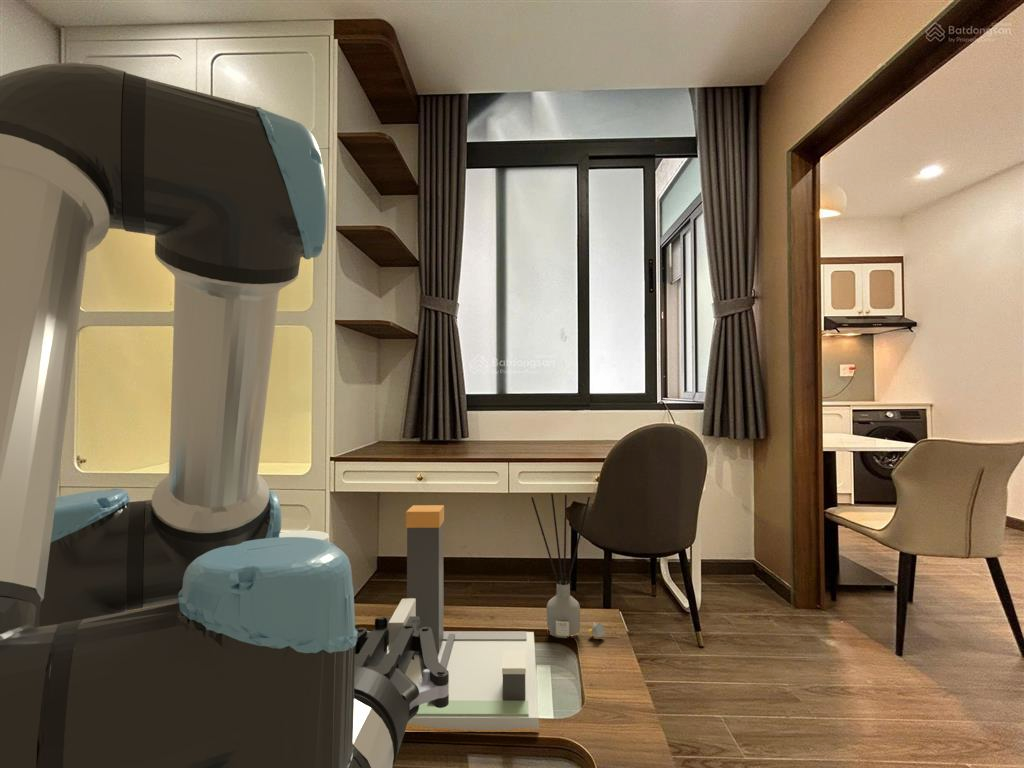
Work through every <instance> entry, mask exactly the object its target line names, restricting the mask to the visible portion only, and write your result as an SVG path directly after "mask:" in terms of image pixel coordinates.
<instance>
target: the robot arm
mask: <svg viewBox="0 0 1024 768" xmlns="http://www.w3.org/2000/svg"><path fill="white" fill-rule="evenodd" d="M325 176H326V175H325V169H324V163H323V159H322V154H321V151H320V147H319V146H318V143H317V141H316V139H315V137H314V135H313V133H312V132H311V131H310V129H308V128H307V127H306V126H305V125H303V124H302V123H300V122H299V121H297V120H294V119H290V118H288V117H285V116H283V115H280V114H277V113H274V112H272V111H268V110H266V109H263V108H261V106H254V105H251V104H247V103H242V102H240V101H235V100H231V99H227V98H224V97H220V96H214V95H211V94H208V93H203V92H200V91H196V90H193V89H188V88H184V87H180V86H176V85H172V84H168V83H166V82H163V81H162V82H161V81H159V80H158V81H157V80H154V79H150V78H147V77H143V76H139V75H136V74H132V73H128V72H126V70H125V71H124V70H121V69H117V68H113V67H110V66H105V65H103V64H92V63H83V62H81V63H80V62H61V63H60V62H59V63H58V62H57V63H48V64H46V63H45V64H40V65H35V66H31V67H26V68H22V69H18V70H13V71H12V72H8V73H6V74H3V75H0V768H394V766H395V763H396V760H397V758H398V757H397V756H398V754H399V750H400V748H401V745H402V742H403V739H404V736H405V734H406V733H405V730H406V726H407V723H408V721H409V720H410V719H411V718H413V717H414V716H415V715H416V714H417V712H418V710H419V705H420V704H423V703H428V702H429V701H430V702H431V703H432V704H433V705H434V706H435V707H437V708H443V707H446V706H447V705H448V704H449V672H448V670H447V669H445V668H444V667H443V666H442V665H441V664H440V663H439V661H438V656H437V652H436V647H435V642H434V637H433V633H432V629H431V628H430V627H422V628H420V617H419V616H416V598H407V597H406V598H402V599H401V600H400V601H399V604H398V605H397V607H396V609H395V610H394V612H393V614H392V616H379V617H375V618H374V628H373V629H372V631H371V630H370V631H371V632H367V631H368V628H366V627H358V628H356V618H355V616H356V615H355V595H354V594H355V593H354V592H355V591H354V586H353V573H352V565H351V562H350V559H349V557H348V555H347V554H346V553H345V552H344V551H343V550H342V549H340V548H339V547H338V546H337V545H336V544H334V543H332V542H330V541H329V542H328V541H325V540H321V539H314V538H307V537H279V534H280V533H281V530H282V508H281V505H280V499H279V497H278V494H277V493H276V492H274V491H273V490H270V488H269V486H268V483H267V482H266V481H265V479H264V478H263V477H262V476H261V475H260V474H259V473H258V472H259V464H260V456H261V447H262V438H263V432H264V429H263V428H264V423H265V422H264V420H265V413H266V405H267V404H266V403H267V395H268V390H269V389H268V387H269V379H270V371H271V370H270V369H271V364H272V363H271V361H272V353H273V344H274V337H275V335H274V334H275V327H276V317H277V310H278V302H279V294H280V291H281V290H282V289H283V288H285V287H287V286H288V285H290V284H292V283H293V282H295V281H296V280H297V279H298V277H299V271H300V263H301V258H304V260H311V259H314V258H318V257H319V256H320V255H321V253H322V252H323V245H324V244H325V239H326V232H327V231H326V230H327V212H328V211H327V208H328V207H327V190H326V188H327V187H326V177H325ZM109 229H112V230H113V229H114V230H122V231H125V232H128V233H135V234H142V235H143V234H144V235H148V236H154V256H155V259H156V260H157V261H158V262H159V263H160V264H161V265H162V266H163V267H164V268H166V270H168V271H169V272H170V273H171V274H172V275H173V276H174V303H173V304H174V306H173V337H172V338H173V339H172V340H173V341H172V367H171V368H172V371H171V374H172V375H171V402H170V428H169V429H170V431H169V433H170V434H169V435H170V436H169V461H168V462H169V467H168V468H169V469H168V471H169V472H168V475H167V476H165V477H164V478H163V479H162V480H161V481H160V482H159V483H158V484H157V485H156V486H155V488H154V490H153V493H152V496H151V499H146V500H136V501H130V500H131V499H130V498H131V496H130V495H129V493H128V491H127V490H126V489H124V488H112V489H105V490H103V489H99V490H97V489H96V490H93V491H85V492H78V493H72V494H67V495H66V494H65V495H61V496H57V494H58V489H59V488H58V486H59V479H60V470H61V462H62V454H63V446H64V440H65V431H66V423H67V417H68V416H67V415H68V408H69V407H68V406H69V399H70V392H71V382H72V375H73V369H74V368H73V367H74V360H75V351H76V345H77V344H76V343H77V338H78V337H77V335H78V326H79V322H80V321H79V320H80V313H81V303H82V297H83V289H84V280H85V273H86V272H85V271H86V265H87V264H86V263H87V256H88V253H89V252H91V251H92V250H94V249H95V248H96V247H98V246H99V245H100V244H101V243H102V242H103V240H104V239H105V238H106V236H107V234H108V232H109ZM387 647H388V651H389V653H388V654H387ZM414 651H416V652H419V660H420V667H421V674H422V678H420V679H419V685H418V686H416V684H415V683H413V682H412V681H411V680H410V679H409V678H408V677H407V676H406V675H405V673H406V671H407V669H408V666H409V664H410V661H411V659H413V660H414Z"/></svg>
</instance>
